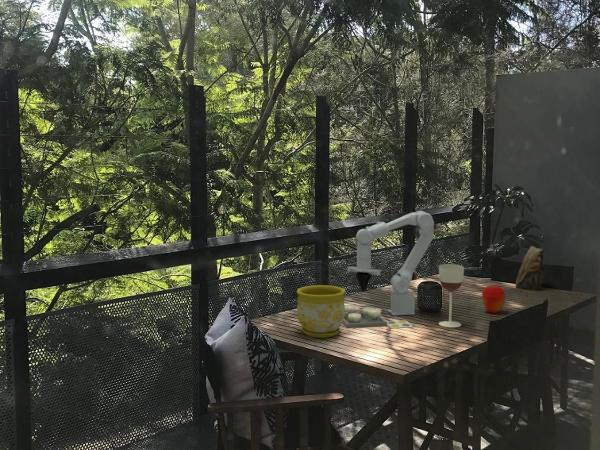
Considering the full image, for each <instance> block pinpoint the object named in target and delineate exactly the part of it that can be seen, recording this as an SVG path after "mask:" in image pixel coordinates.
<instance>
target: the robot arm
mask: <svg viewBox="0 0 600 450" xmlns="http://www.w3.org/2000/svg"><path fill="white" fill-rule="evenodd" d="M407 225H410V226H415V227H417V229H418V231H419V237H418V238H417V240H416V242H415V244H414V246H413V248H412V249H411V251H410V253H409V255H408V256H407V258H406V260H405V262H404V263H403V265H402V267H401V268H400V269H399V270H397V273H396V274H395V275H393V276H392V277H391V278H390V285H391V287H392V288H391V291H390V309H387V312H388V313H390V314H391V315H392V316H406V315H409V316H411V315H416V312H415V303H416V302H415V294H414V293H413V292H412V291H409V289H410V283H411V281H412V278H413V274H414V272H415V271H416V268H417V267H418V265H419V263H420V262H421V260H422V258H423V257H424V255H425V253H426V251H427V250H428V248H429V246H430V245H431V242H433V241H432V240H433V239H434V237H435V236H434V232H435V231H434V225H435V221H434V218H433V216H432V215H431V214H430V213H428V212H425V211H423V210H417V211H415V212H410V213H407V214H405V215H403V216H401V217H399V218H396V219H394V220H391V221H390V222H389V221H388V222H387V223H386V222H385V221H377V222H376V223H375V224H373V225H371V226H368V225H367V226H366V227H365V228H362V229H359V230H358V231H357V233H356V235H355V238H356V240H357V242H356V245H357V246H356V266H347V272H348V273H355V277H356V279H357V281H358V285H359V287H360V291H361V292H365V291H367V287H368V284H369V281H370V279H371V278H372V276H373V275H374V276H380V275H381V269H376V268H372V264H371V263H372V247H371V243H372V241H375V240H378V239H379V238H380V239H381V238H382V237H383V238H384V237H385V236H388V235H389V233H390V231H392V230H395V229H398V228H401V227H404V226H407Z"/></svg>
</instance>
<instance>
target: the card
mask: <svg viewBox="0 0 600 450" xmlns="http://www.w3.org/2000/svg"><path fill="white" fill-rule="evenodd" d="M385 321H386V320H385ZM386 322H387V327H389V328H390V329H407V328H410V327H411V328H414V326H413V325H412V323H409V321H408V320H389V321H386Z"/></svg>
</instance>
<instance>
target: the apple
mask: <svg viewBox="0 0 600 450" xmlns="http://www.w3.org/2000/svg"><path fill="white" fill-rule="evenodd" d="M481 295H482V301H483V306H484V308H485V310H486V311H487V312H488V313H491V314H497V313H498V312H500V311H501V310H502V309H503V307H504V305H505V302H506V293H505V291H504V289H503V288H502V287H500V286H497V285H496V286H495V285H488V286H486V287H485V288H484V289H483V291H482V294H481Z"/></svg>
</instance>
